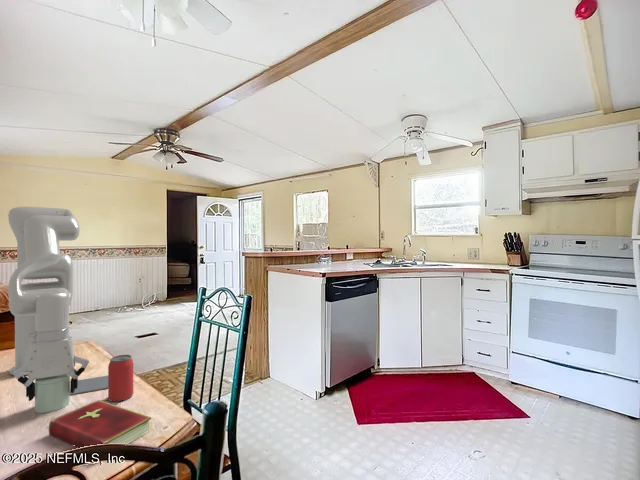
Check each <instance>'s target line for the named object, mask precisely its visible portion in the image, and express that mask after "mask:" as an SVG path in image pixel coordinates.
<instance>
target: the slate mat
mask: <svg viewBox="0 0 640 480" xmlns="http://www.w3.org/2000/svg"><path fill="white" fill-rule="evenodd" d="M107 389H108V375H102V376H95V377H90V378H84V379H78V387H77V389H75V391H74V393H70V396H74V395H81V394H86V393H92V392H98V391H102V390H107Z"/></svg>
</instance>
